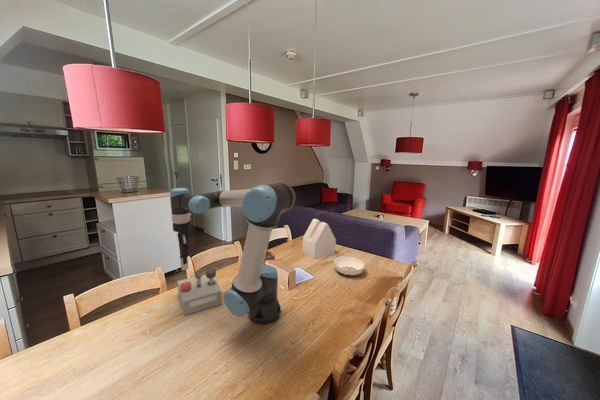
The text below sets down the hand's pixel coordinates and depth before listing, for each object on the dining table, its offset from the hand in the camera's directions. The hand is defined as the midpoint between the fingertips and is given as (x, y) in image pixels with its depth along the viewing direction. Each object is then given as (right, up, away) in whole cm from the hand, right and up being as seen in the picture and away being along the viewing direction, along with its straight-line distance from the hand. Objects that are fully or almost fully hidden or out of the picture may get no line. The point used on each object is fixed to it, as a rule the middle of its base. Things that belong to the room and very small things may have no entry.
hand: (185, 269), depth 116 cm
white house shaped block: (+69, -7, +68) cm, 97 cm away
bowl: (+87, -14, +41) cm, 97 cm away
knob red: (-1, -17, +4) cm, 17 cm away
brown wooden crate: (+28, -9, +49) cm, 57 cm away
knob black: (+9, -12, +9) cm, 18 cm away
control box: (+4, -17, +7) cm, 19 cm away
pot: (+4, -10, +6) cm, 12 cm away
